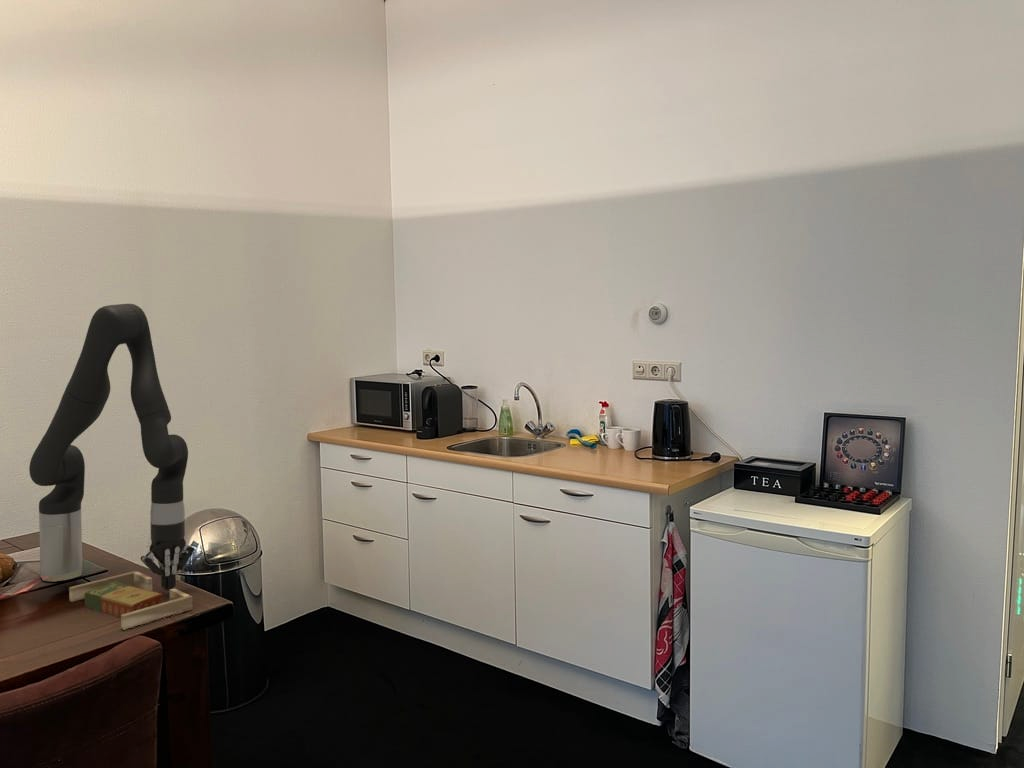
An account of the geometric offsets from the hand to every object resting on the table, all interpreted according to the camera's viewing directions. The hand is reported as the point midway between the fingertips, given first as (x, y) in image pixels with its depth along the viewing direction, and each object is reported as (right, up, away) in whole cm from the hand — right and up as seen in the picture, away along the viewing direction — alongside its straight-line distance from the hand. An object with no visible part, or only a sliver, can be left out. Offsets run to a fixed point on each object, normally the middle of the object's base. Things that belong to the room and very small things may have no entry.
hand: (168, 589), depth 195 cm
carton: (-7, -3, -9) cm, 11 cm away
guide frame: (-6, -2, -7) cm, 9 cm away
